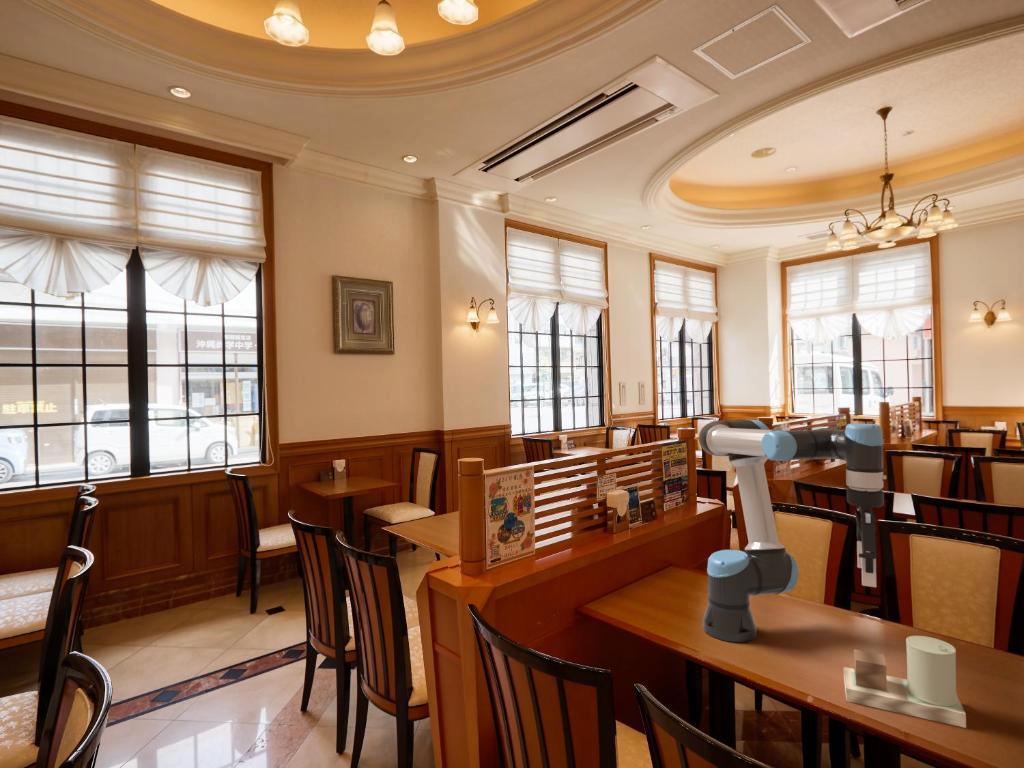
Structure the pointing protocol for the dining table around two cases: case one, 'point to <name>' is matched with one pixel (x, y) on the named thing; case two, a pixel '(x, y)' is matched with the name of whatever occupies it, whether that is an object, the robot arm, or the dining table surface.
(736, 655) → the dining table surface
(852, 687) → the board
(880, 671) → the cube
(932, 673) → the can
